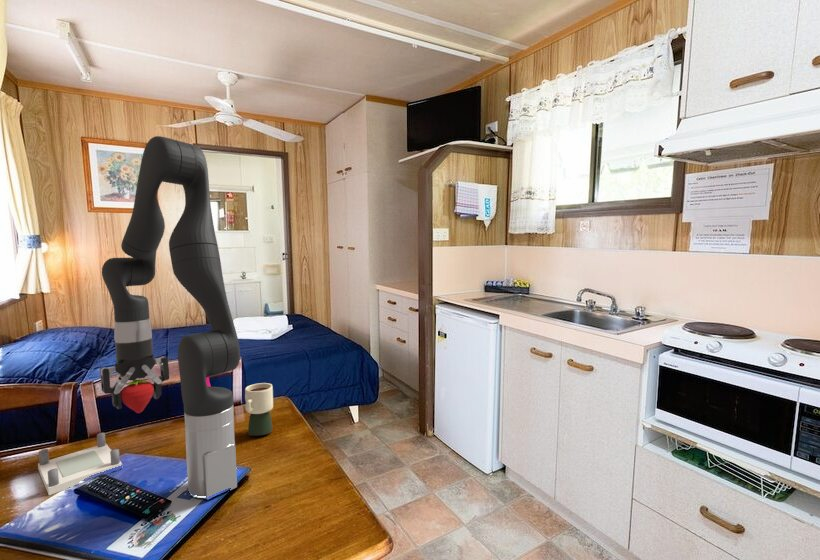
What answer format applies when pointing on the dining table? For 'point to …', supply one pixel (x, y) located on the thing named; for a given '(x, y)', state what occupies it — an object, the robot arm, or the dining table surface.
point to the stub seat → (76, 465)
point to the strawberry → (137, 394)
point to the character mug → (259, 408)
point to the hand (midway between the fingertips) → (138, 402)
